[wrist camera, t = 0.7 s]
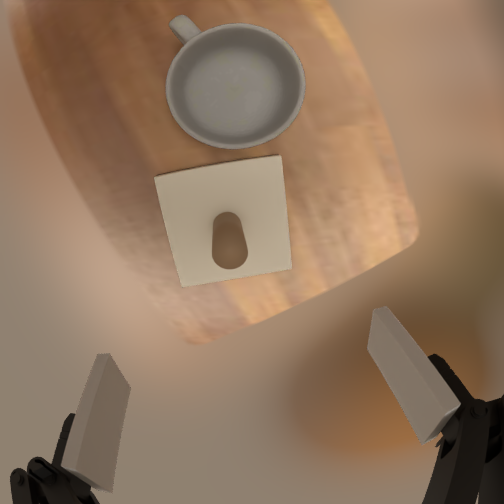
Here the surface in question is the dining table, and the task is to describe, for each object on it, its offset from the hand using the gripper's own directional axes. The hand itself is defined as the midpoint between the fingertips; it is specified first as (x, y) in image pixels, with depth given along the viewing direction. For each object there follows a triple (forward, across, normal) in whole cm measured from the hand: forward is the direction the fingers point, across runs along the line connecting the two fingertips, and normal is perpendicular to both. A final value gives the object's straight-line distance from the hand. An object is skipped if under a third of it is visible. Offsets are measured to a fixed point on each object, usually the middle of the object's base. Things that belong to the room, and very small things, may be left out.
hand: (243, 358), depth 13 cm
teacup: (+20, +2, +15) cm, 25 cm away
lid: (+20, 0, 0) cm, 20 cm away
